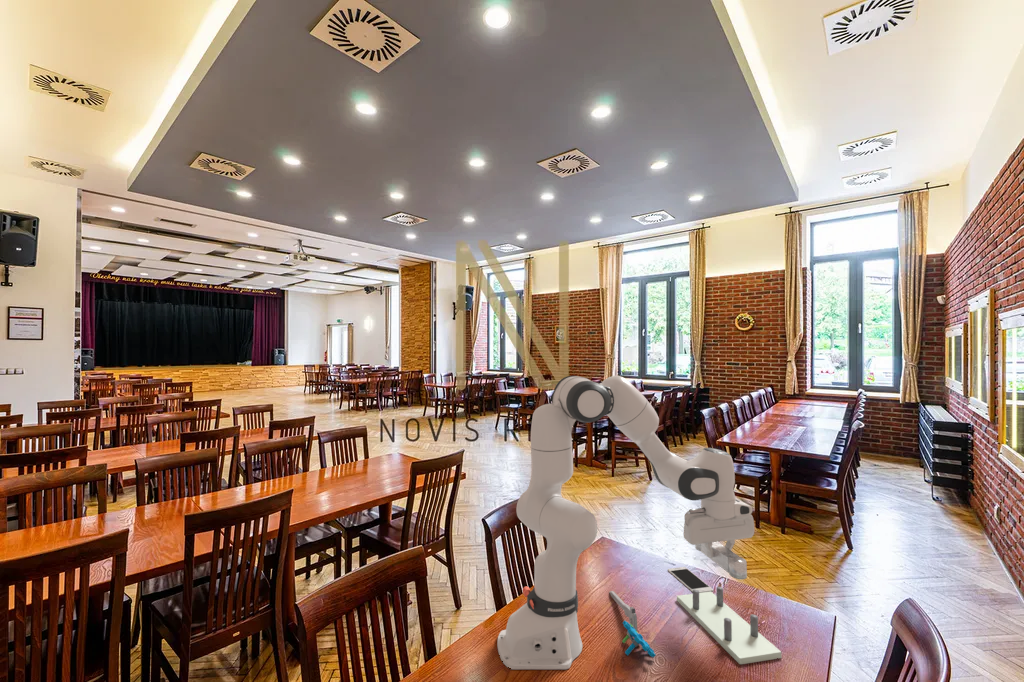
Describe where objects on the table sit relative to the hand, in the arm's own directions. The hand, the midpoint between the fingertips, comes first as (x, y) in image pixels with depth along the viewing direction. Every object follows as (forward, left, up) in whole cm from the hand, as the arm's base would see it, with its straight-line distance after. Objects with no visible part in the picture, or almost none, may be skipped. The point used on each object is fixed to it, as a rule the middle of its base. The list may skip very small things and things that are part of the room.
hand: (719, 555), depth 122 cm
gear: (-27, -4, -21) cm, 34 cm away
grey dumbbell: (0, 0, -2) cm, 2 cm away
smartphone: (+7, +25, -21) cm, 33 cm away
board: (+2, +1, -20) cm, 20 cm away
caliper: (-24, +13, -21) cm, 34 cm away
